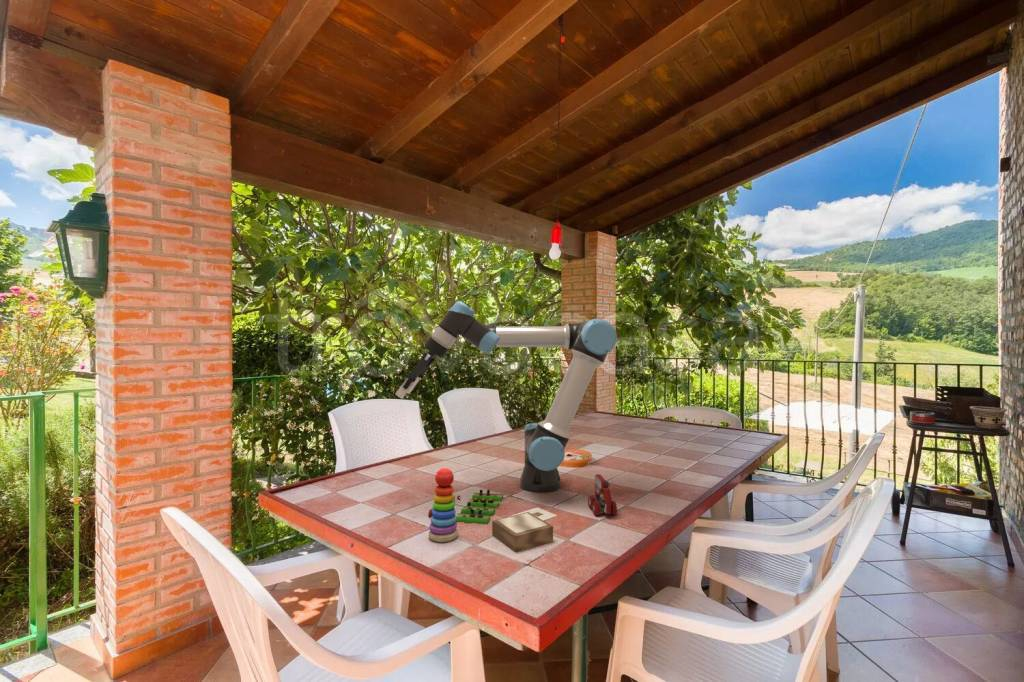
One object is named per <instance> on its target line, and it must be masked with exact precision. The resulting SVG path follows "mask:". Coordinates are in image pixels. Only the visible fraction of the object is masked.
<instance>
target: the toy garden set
mask: <svg viewBox="0 0 1024 682" xmlns="http://www.w3.org/2000/svg"><path fill="white" fill-rule="evenodd" d="M483 491H484V489H479V492H474V493H473V494H472V496H471V499H468V501H466V505H463V507H462V508H461V510H460V513H457V514H455V515H456V517H457V520H456V523H458V522H464V523H463V524H472V523H476V524H475V525H486V524H487V525H488V524H489V522H490V521H489V520H491V516H492V515H493V516H494V515H495V513H496V509H495V508H497V507H498V508H499V506H500V503H502V502H503V500H502V499H504V494H501V493H490V492H491V490H490V489H487V490H486V492H483ZM460 496H461V495H457V496H456V495H454V499H453V500H454V502H455V503H456V499H457V500H460V501H461V497H460ZM459 497H460V498H459ZM499 501H500V502H499ZM433 508H434V507H433V506H432V507H431V509H429V510H428V518H431V517H432V516H433V515H432V510H433ZM498 508H497V509H498ZM494 512H495V513H494ZM493 516H492V517H493ZM477 523H478V524H477Z"/></svg>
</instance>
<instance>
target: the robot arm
mask: <svg viewBox="0 0 1024 682" xmlns="http://www.w3.org/2000/svg"><path fill="white" fill-rule="evenodd" d="M475 314H476V311H475V310H474V309H473V308H471V307H470V306H469V305H467V304H466V303H464V302H463V301H461V300H458V301H456V302H455V303H454V304H453V306H452V307H451V308H450V309H449V310H448V311H447V313H446V314H445V316H444V317H443V318H442V320H441V321H440V323H439V324H438V326H437V327H434V328H433V330H434V331H433V332H432V334H431V337H429V338H428V339H427V341H426V342H425V344H424V347H425V348H426V349H427V350H428V351H427V352H425V353H423V355H422V356H421V358H420V359H419V361H418V362H417V364H416V365H415V366H414V367H413V368H412V370H411V371H410V373H407V374H405V377H406V378H405V380H404V382H402V384H401V385H400V387H399V388H398V389H397V391H396V392H395V396H397V397H398V398H400V399H404V397H405V396H406V395H407V394H409V395H410V394H411V392H412V391H413V390H414V388H415V387H416V386H417V384H418V383H419V382H420V380H423V379H424V377H425V373H426V372H427V370H428V369H429V368H430V367H431V366H432V364H433V363H435V361H436V359H435V358H437V357H439V358H444V357H445V355H446V354H447V353H448V352H449V349H451V347H453V345H454V343H455V342H456V341H457V339H458V338H459V336H461V337H462V338H463V339H465V340H466V341H468V342H469V343H470V344H471V345H473V346H475V348H477V349H478V351H481V352H483V353H484V354H486V355H489V354H491V352H492V351H493V349H494V348H534V347H535V348H553V347H554V348H564V349H566V350H568V351H569V350H570V351H571V352H572V355H573V356H572V359H571V361H570V363H569V365H568V368H567V370H566V372H565V375H564V376H563V378H562V381H561V382H560V385H559V388H558V390H557V392H556V394H555V395H554V399H553V401H552V403H551V405H550V407H549V410H548V412H547V414H546V416H545V418H544V419H543V420H541V421H539V422H537V423H536V422H535V423H532V422H531V423H526V424H525V426H524V431H523V434H524V466H523V469H522V473H521V475H520V478H519V487H520V488H521V489H523V490H525V491H529V492H535V493H536V492H537V493H547V492H549V493H550V492H555V491H557V490H559V489H560V488H561V487H562V479H561V475H560V474H559V473H560V472H559V470H558V468H559V467H560V466H561V465H562V463H563V462H564V459H565V453H566V451H565V449H566V447H567V444H568V442H569V440H570V438H571V437H570V434H569V429H570V428H571V424H572V423H573V420H574V418H575V416H576V413H577V411H578V409H579V406H580V405H581V403H582V400H583V398H584V396H585V393H586V392H587V389H588V386H589V384H590V382H591V381H592V378H593V376H594V373H595V371H596V369H597V367H599V366H602V365H603V364H604V362H605V360H606V358H607V357H608V354H609V353H610V352H611V351H612V350H613V349H614V348H615V346H616V344H617V340H618V339H617V338H618V336H617V335H618V334H617V332H616V329H615V327H614V326H613V324H612V323H610V322H609V321H607V320H605V319H601V318H593V319H589V320H584V321H582V322H576V323H565V325H563V326H562V325H561V326H559V325H557V326H556V325H555V326H554V325H552V326H548V325H547V326H543V325H541V326H535V325H534V326H526V325H525V326H521V325H519V326H515V325H514V326H513V325H512V326H510V325H509V326H508V325H507V326H500V325H499V326H491V325H489V326H486V325H485V324H483V323H482V322H480V321H479V320H477V319H476V318H475Z"/></svg>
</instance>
